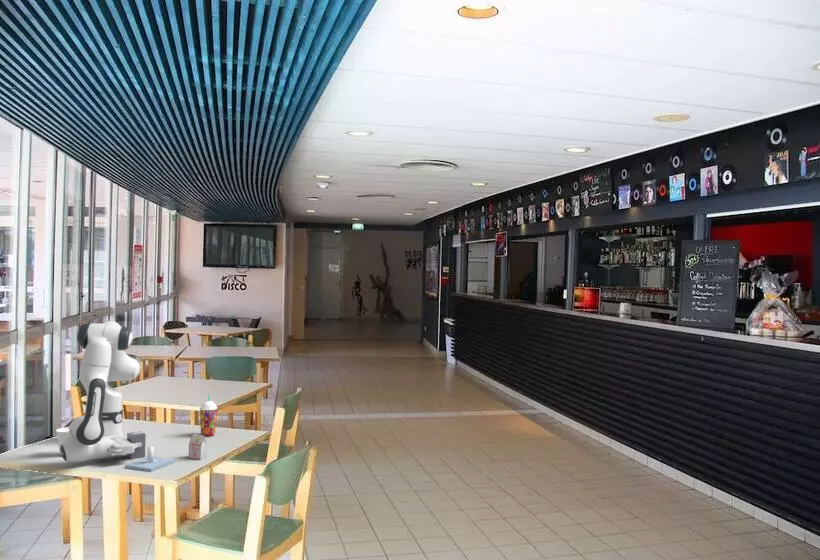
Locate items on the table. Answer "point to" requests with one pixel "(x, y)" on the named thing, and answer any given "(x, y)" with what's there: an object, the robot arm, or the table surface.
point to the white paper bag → (197, 447)
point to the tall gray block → (134, 438)
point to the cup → (62, 435)
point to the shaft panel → (149, 466)
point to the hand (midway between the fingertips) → (138, 442)
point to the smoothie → (208, 418)
